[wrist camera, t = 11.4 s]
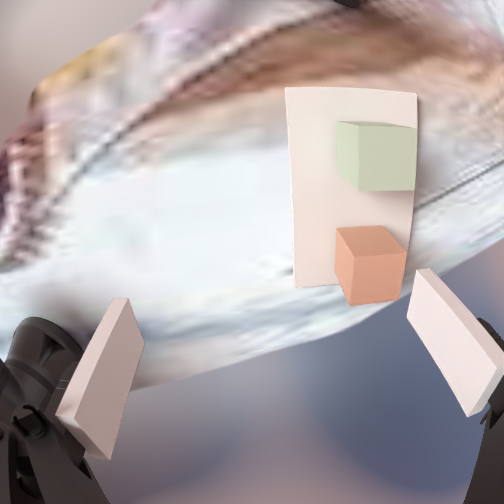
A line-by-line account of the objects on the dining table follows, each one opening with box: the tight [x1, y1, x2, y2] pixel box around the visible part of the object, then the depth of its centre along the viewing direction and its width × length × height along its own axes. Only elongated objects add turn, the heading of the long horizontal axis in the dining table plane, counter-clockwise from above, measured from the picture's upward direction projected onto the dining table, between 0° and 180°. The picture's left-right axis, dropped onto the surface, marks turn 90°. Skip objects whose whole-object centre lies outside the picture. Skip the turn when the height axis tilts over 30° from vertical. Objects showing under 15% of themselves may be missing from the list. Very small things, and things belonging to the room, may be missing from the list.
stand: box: [285, 87, 417, 306], centre depth 28 cm, size 14×22×9 cm, turn 5°
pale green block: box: [336, 121, 417, 191], centre depth 25 cm, size 5×5×7 cm
